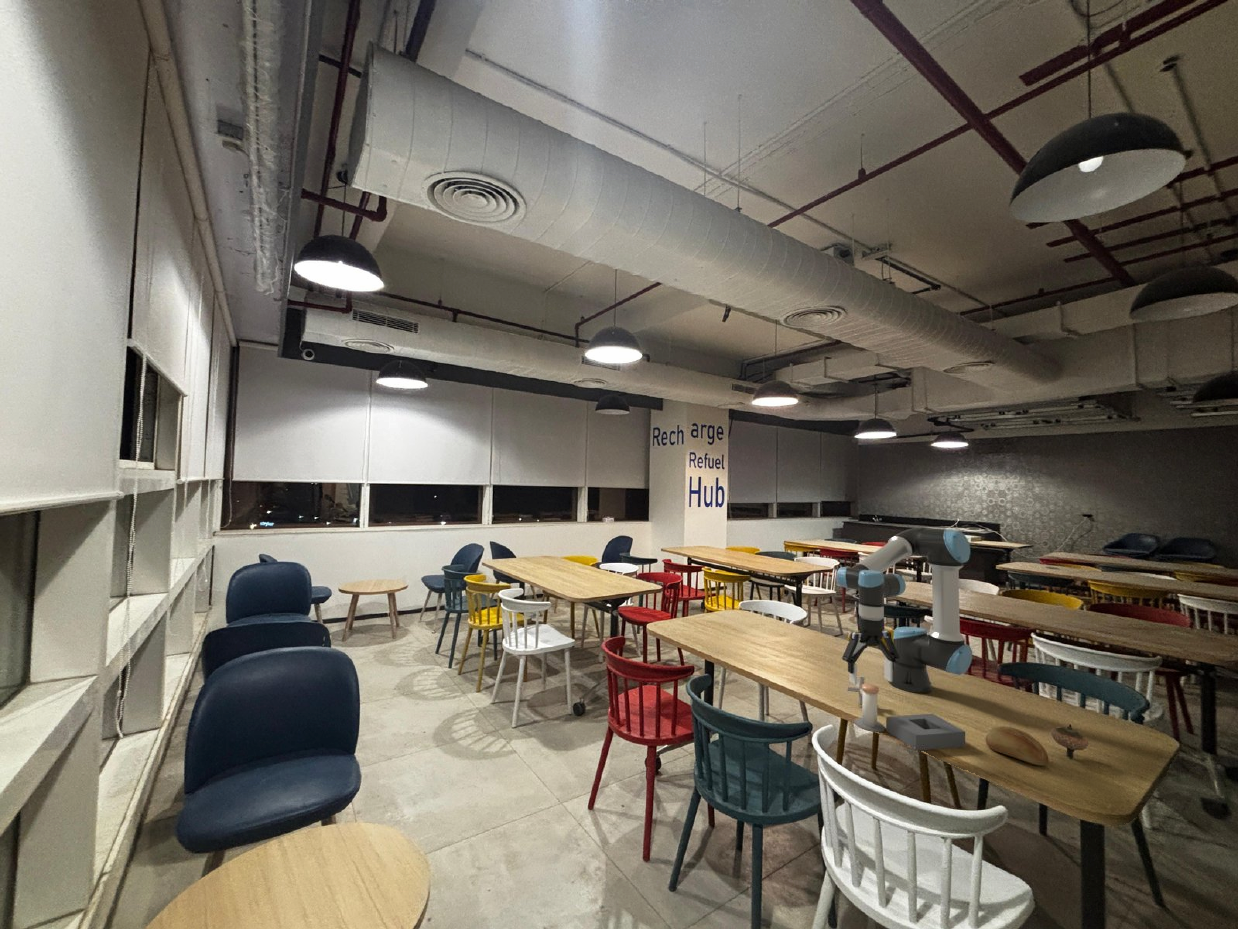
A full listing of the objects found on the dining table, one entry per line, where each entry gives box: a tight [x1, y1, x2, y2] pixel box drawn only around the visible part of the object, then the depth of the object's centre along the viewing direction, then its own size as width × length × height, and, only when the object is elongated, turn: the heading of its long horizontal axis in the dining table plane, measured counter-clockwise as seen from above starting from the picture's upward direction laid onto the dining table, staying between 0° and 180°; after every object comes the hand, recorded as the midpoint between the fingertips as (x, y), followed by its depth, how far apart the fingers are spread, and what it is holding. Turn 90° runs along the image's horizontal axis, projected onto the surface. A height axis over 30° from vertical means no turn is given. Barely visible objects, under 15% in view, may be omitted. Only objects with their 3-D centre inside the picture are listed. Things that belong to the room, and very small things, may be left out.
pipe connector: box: [845, 675, 865, 706], centre depth 178 cm, size 10×10×10 cm
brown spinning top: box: [1050, 723, 1089, 759], centre depth 146 cm, size 8×8×10 cm
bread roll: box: [984, 726, 1050, 766], centre depth 145 cm, size 10×15×8 cm, turn 39°
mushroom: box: [861, 683, 880, 727], centre depth 161 cm, size 5×5×12 cm
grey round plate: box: [853, 717, 886, 733], centre depth 161 cm, size 9×9×1 cm
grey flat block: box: [885, 713, 966, 752], centre depth 154 cm, size 18×12×4 cm, turn 102°
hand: (870, 681), depth 162 cm, fingers open, 13 cm apart
